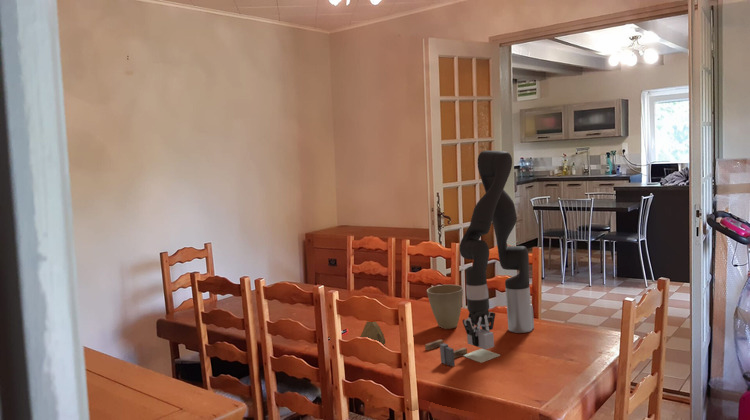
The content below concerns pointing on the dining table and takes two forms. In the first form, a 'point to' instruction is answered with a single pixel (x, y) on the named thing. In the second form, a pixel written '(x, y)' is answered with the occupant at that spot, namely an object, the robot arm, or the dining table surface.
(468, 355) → the mat
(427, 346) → the clamp rails
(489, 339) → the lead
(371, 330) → the rock
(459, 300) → the plant pot
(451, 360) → the grey stepped block
